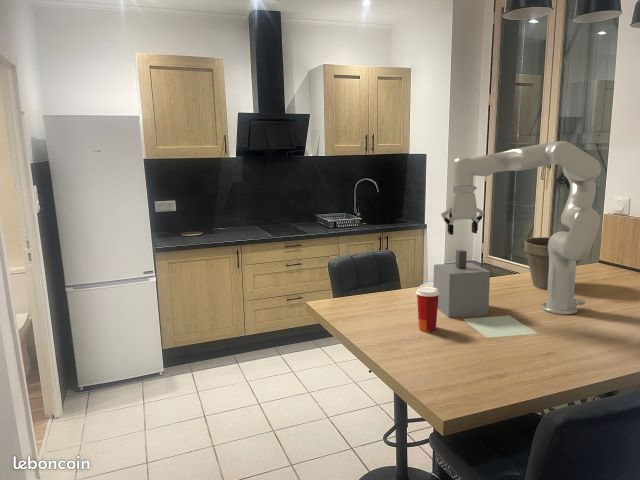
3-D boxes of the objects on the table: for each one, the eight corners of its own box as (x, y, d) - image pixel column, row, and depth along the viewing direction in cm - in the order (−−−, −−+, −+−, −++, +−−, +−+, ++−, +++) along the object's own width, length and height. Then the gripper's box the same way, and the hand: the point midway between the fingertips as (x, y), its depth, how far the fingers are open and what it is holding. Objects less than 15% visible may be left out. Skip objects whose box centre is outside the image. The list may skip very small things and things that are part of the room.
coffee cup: (439, 326, 168) (440, 287, 165) (437, 334, 160) (438, 293, 158) (416, 324, 171) (417, 285, 168) (413, 332, 163) (414, 291, 160)
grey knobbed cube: (469, 303, 193) (471, 246, 189) (488, 315, 177) (490, 253, 173) (433, 305, 191) (434, 248, 187) (448, 318, 175) (450, 255, 171)
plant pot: (592, 293, 202) (596, 245, 198) (536, 294, 203) (539, 247, 199) (563, 279, 227) (566, 236, 223) (513, 280, 227) (515, 237, 223)
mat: (509, 316, 176) (509, 315, 176) (538, 334, 157) (538, 333, 157) (462, 319, 174) (462, 318, 174) (486, 338, 155) (486, 337, 155)
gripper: (479, 188, 181) (478, 230, 184) (438, 190, 179) (437, 233, 182) (488, 189, 173) (488, 233, 176) (445, 191, 171) (445, 236, 174)
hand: (462, 233), depth 179 cm, fingers open, 9 cm apart
